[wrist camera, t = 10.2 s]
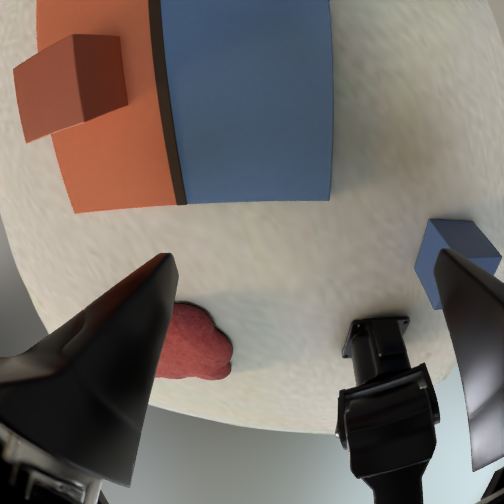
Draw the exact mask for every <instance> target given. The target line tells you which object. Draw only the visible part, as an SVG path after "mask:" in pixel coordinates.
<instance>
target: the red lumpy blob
mask: <svg viewBox="0 0 504 504" xmlns="http://www.w3.org/2000/svg"><path fill="white" fill-rule="evenodd" d="M232 354H233V349H232V346H231V344H230V342H229V341H228V339H227V338H226V337H225V336H224V335H222V334H221V333H220V332H219V331H217V330H216V329H215V327H214V324H213V322H212V320H211V318H210V317H209V316H208V315H207V314H206V313H204V312H203V311H202V310H200V309H198V308H196V307H193V306H190V305H185V304H174V306H173V311H172V316H171V320H170V324H169V328H168V331H167V334H166V338H165V341H164V345H163V348H162V352H161V356H160V359H159V363H158V367H157V370H156V374H155V377H156V378H160V377H162V378H169V379H182V378H185V377H198V378H202V379H206V380H220V379H223V378H225V377H227V376H228V375H229V374H230V372H231V366H230V364H229V361H230V359H231V357H232Z"/></svg>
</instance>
